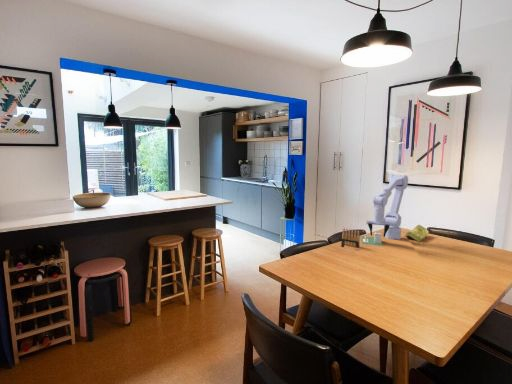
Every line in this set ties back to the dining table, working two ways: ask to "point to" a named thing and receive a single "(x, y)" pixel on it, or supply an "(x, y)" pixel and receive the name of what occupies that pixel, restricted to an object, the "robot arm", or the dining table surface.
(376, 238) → the plug housing
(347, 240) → the ammunition clip
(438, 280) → the dining table surface
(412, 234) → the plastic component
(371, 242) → the header board
